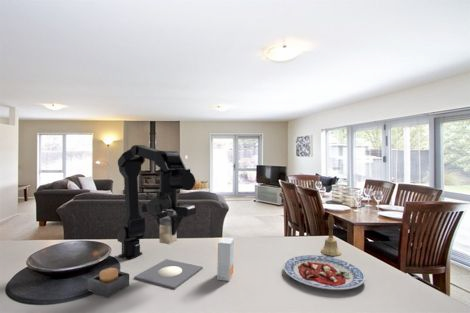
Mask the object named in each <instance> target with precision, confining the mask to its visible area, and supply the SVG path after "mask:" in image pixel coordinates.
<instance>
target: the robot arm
mask: <svg viewBox="0 0 470 313" xmlns="http://www.w3.org/2000/svg"><path fill="white" fill-rule="evenodd" d="M146 160H149V161H152V162H154V165H155V166H157V167H158V168H159V169H158V170H157V171H156V174H157V175H159V191H156V196H155V197H153V198H152V199H150V200H149V201H148V202H144V203H143V204H142V205H141V212H142V213H148V214H150V216H153V217H154V219H155V220H156V221H157V224H158V227H159V228H160V218H164V217H167V216H168V213H169V212H170V213H172V215H169V217H170V218H171V220H172V235H175V233H176V231H178V229H179V226H180V224H181V222H182V220H183V219H184V218H185V217H190V216H194V215H196V214H197V208H196V207H195V204H194V205H192V204H183V205H180V202H179V201H178V194H180V190H182V191H190V190H192V189H193V188H194V187H195V184H196V177H195V176H194V173H192V172H191V168H186V165H185V164H184V162H183V158H182V157H181V155H180V152H178V151H176V150H159V149H156V148H152V147H149V146H147V145H142V144H134V145H132V146H131V147H130V148H129V149H128V150H126V151H125V152H123V153H122V154H121V155H120V156H119V158H118V160H117V166H118V172H119V173H120V175H121V176H122V177H123V181H124V183H123V184H124V202H125V216H124V218H123V220H122V222H121V228H120V230H119V232H117V235H116V239H117V242H118V243H120V244H121V253H120V254H118V256H117V257H119V258H123V259H128V260H132V259H134V258H136V257H139V256H140V255H143V251H142V252H141V243H140V241H141V239H144V237H145V234H146V227H147V226H146V219H145V217H142V215H141V214H140V202H139V184H138V182H139V180H138V177H139V175H140V173H141V172H142V166H143V164H144V163H145V162H146Z"/></svg>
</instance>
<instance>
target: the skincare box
mask: <svg viewBox="0 0 470 313" xmlns="http://www.w3.org/2000/svg"><path fill="white" fill-rule="evenodd" d="M234 245H235V238H234V237H233V238H232V237H230V238H229V237H222V238H221V239H220V240H219V241H218V243H217V267H216V268H217V271H216V272H217V274H216V279H217V280H218V281H227V282H230V280H231V278H232V276H233V275H234V262H235V261H234V256H235V255H234V254H235V253H234V251H235V250H234V249H235V248H234V247H235V246H234Z"/></svg>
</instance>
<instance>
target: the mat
mask: <svg viewBox="0 0 470 313" xmlns="http://www.w3.org/2000/svg"><path fill="white" fill-rule="evenodd" d="M203 268H204V267H203V266H202V265H201V266H200V265H195V264H191V263H186V262H181V261H177V260H172V259H167V258H166V259H164V260H162V261H160V262H158V263H157V264H154V265H153V266H151V267H149V268H147V269H145V270H143V271H142V272H140V273H138V274H136V275H134V276H133V278H134V279H135V280H137V281H143V282H147V283H149V284H154V285H156V286H157V285H158V286H162V287H166V288H170V289H173V290H176V289H177V288H179V287H180V286H181V285H183V284H184V283H185V282H186V281H188V280H190V278H192V277H193V276H195V275H196V274H198V273H199V272H200V271H201V270H202V269H203Z"/></svg>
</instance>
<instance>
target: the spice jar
mask: <svg viewBox="0 0 470 313" xmlns="http://www.w3.org/2000/svg"><path fill="white" fill-rule="evenodd" d="M169 216H170V215H169ZM169 216H168V215H167V217H164V218H160V227H159V244H165V245H170V244H172V243H173V244H174V243H175V242H177V241H178V240H177V238H178V237H177V235H178V233H177V231H178V230H177V231H176V233H175V235H172V220H171V218H170V217H169Z"/></svg>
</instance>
